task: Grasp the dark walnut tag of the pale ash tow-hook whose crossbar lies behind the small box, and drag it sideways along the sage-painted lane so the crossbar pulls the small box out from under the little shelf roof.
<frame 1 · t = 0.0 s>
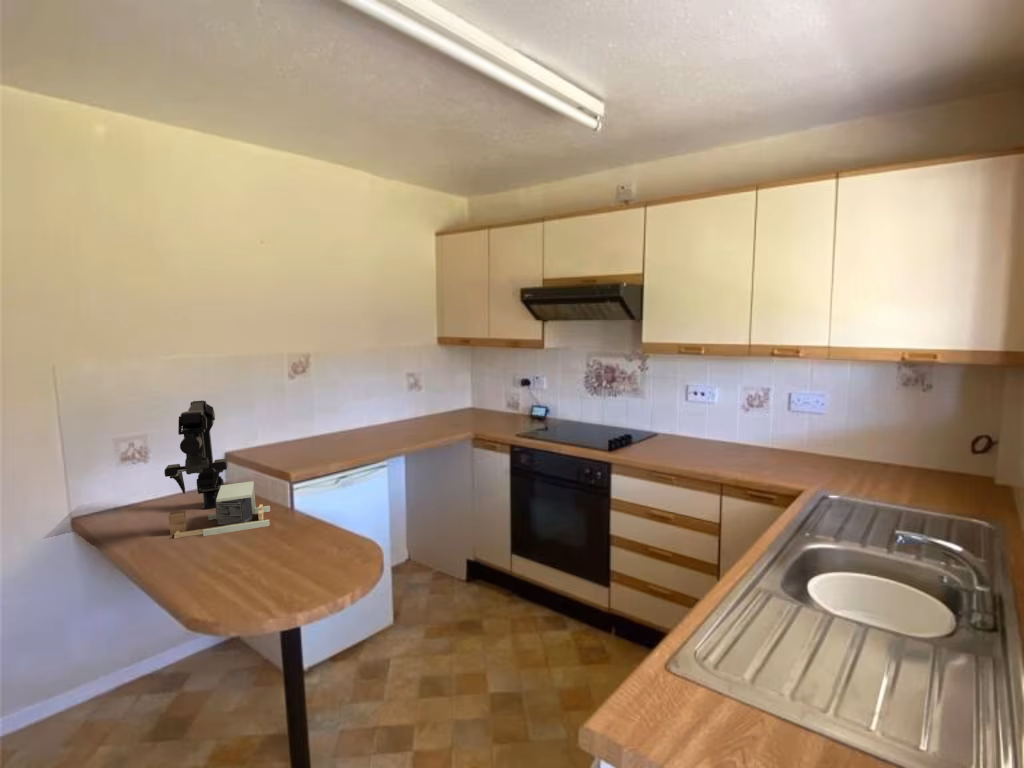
hand: (199, 491, 192), 15 cm above the table, fingers open, 9 cm apart
tow hook: (179, 531, 194), on the table
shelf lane: (214, 526, 198), on the table
small box: (235, 523, 201), on the table
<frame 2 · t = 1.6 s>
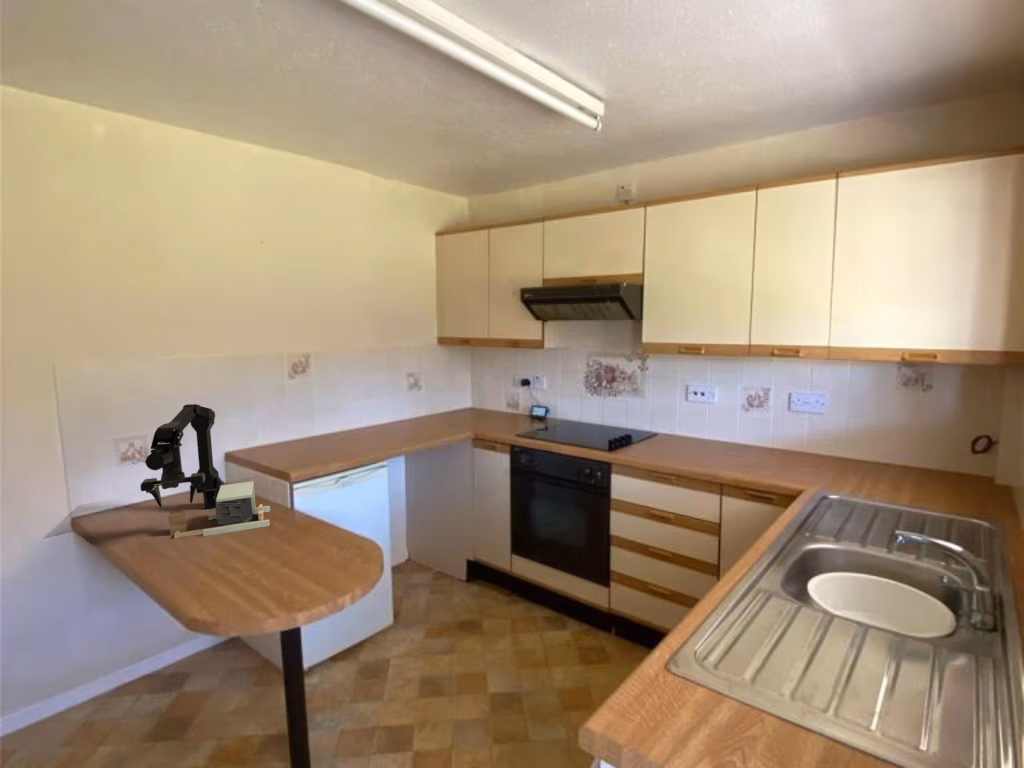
hand: (176, 505, 192), 10 cm above the table, fingers open, 9 cm apart
nothing on the table moved.
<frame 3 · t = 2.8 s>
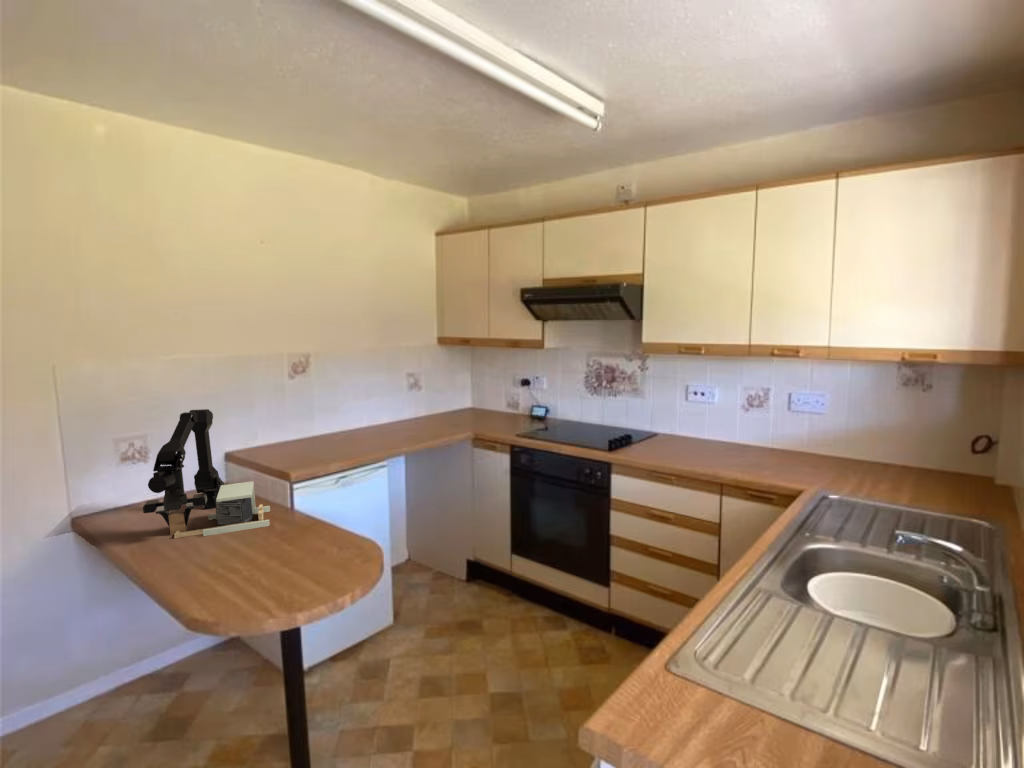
hand: (178, 526, 193), 2 cm above the table, fingers closed on tow hook, 4 cm apart
tow hook: (179, 531, 194), on the table, touching gripper
everything else where it was.
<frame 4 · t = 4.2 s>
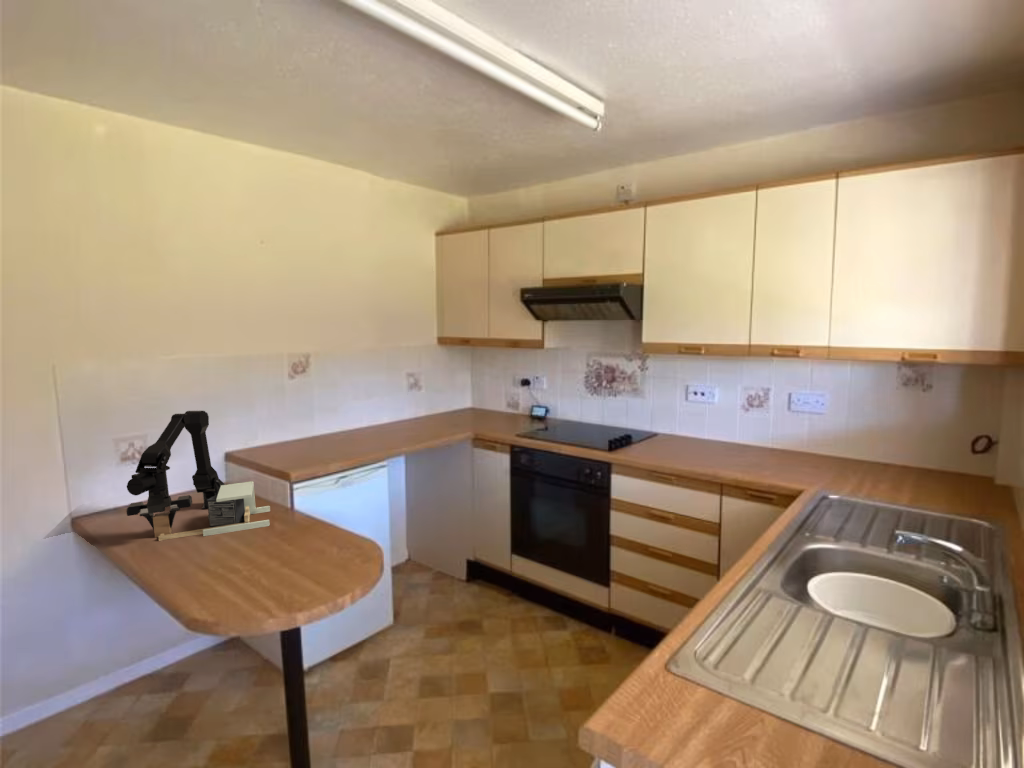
hand: (163, 528, 192), 2 cm above the table, fingers open, 4 cm apart
tow hook: (163, 534, 192), resting on small box, touching gripper
small box: (228, 524, 200), on the table, touching tow hook
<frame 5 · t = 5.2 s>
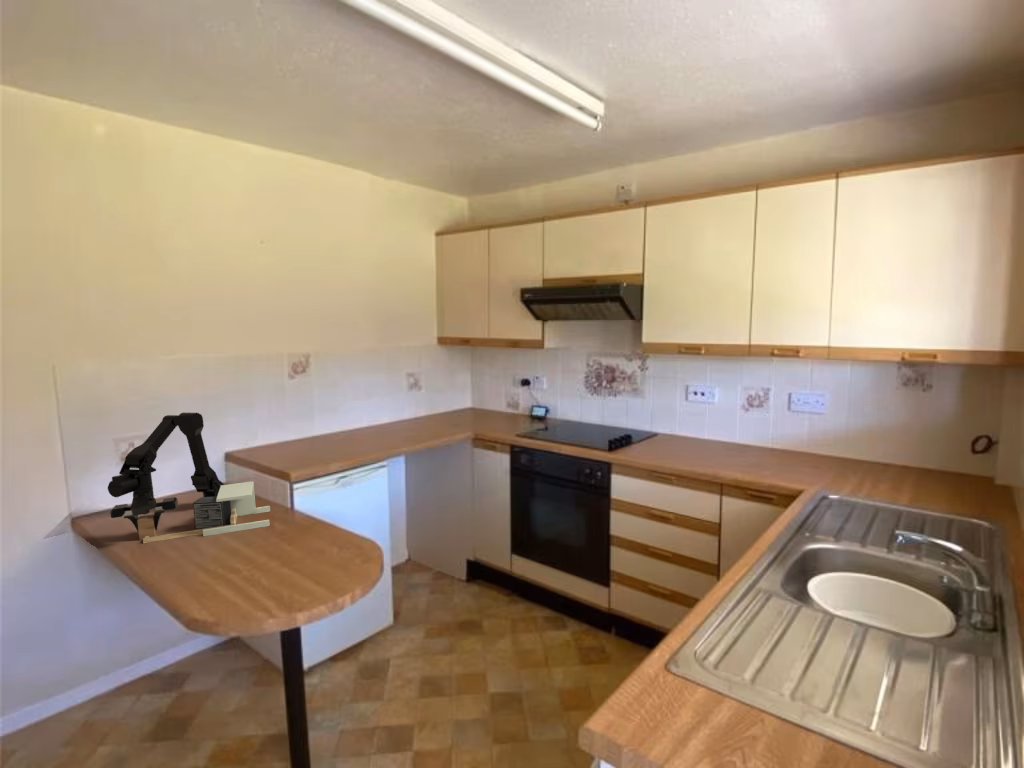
hand: (148, 530, 190), 2 cm above the table, fingers closed on tow hook, 4 cm apart
tow hook: (148, 536, 190), on the table, touching gripper, small box
small box: (214, 527, 198), on the table, touching tow hook
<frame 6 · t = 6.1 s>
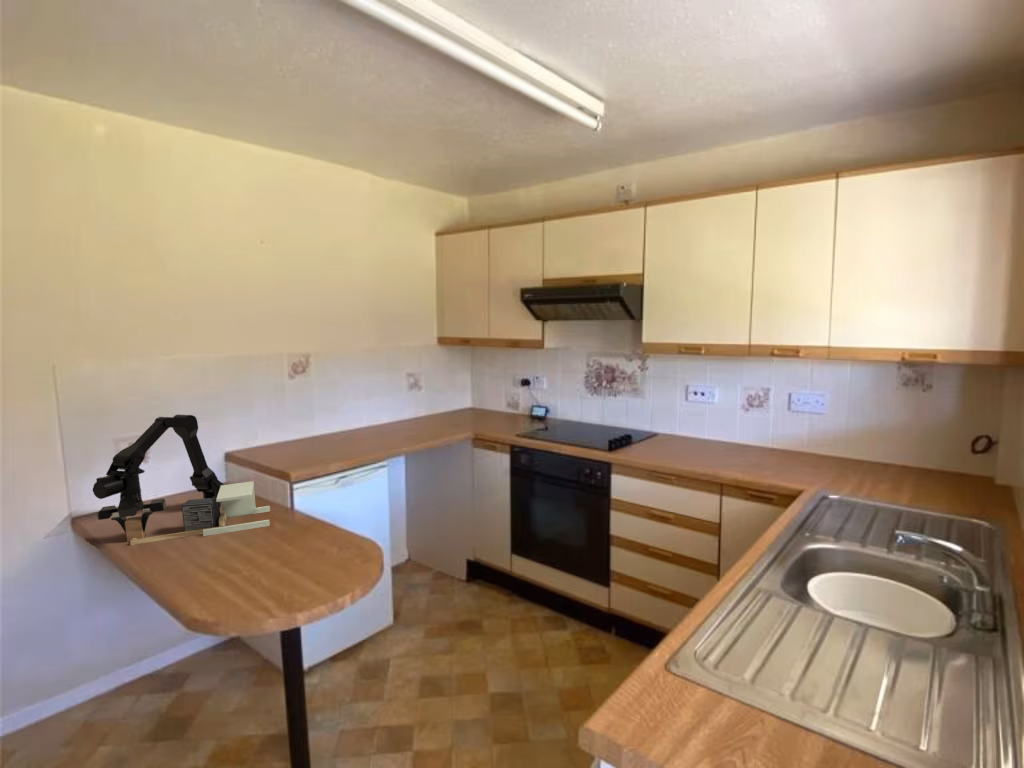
hand: (135, 532, 188), 2 cm above the table, fingers closed on tow hook, 4 cm apart
tow hook: (136, 538, 189), on the table, touching gripper, small box
small box: (203, 529, 196), on the table, touching tow hook
when the fingers open (2 cm above the table, at t = 6.2 s): tow hook stays where it is, on the table.
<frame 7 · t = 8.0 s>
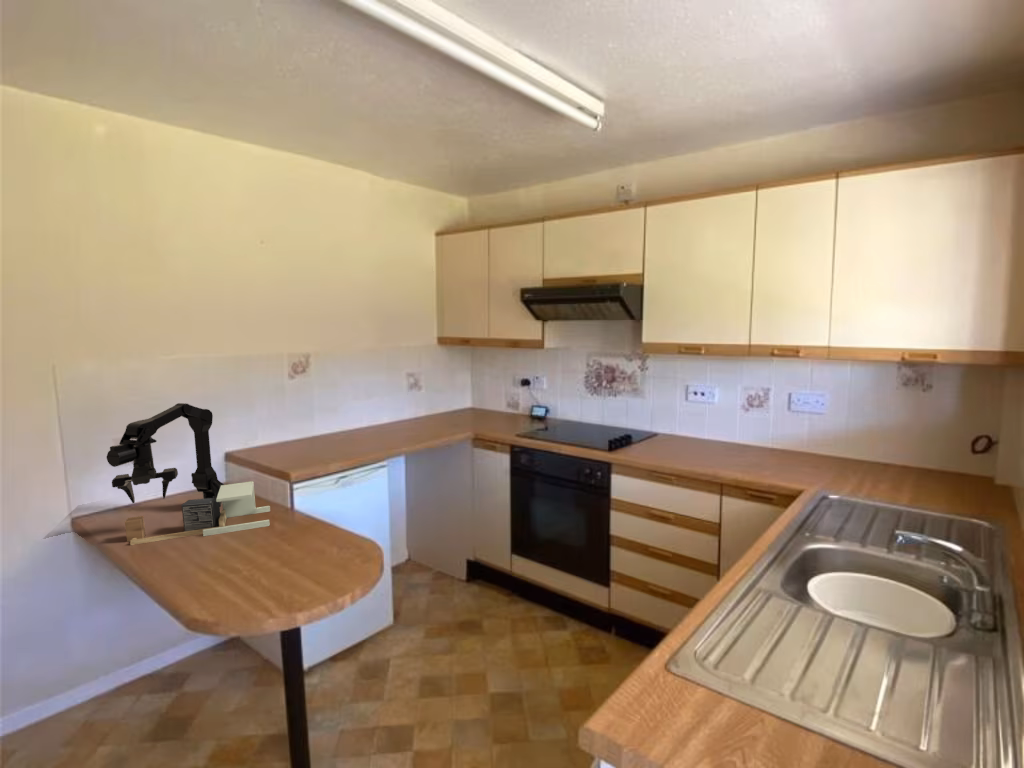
hand: (149, 500, 194), 11 cm above the table, fingers open, 9 cm apart
tow hook: (136, 538, 189), on the table
small box: (203, 529, 196), on the table
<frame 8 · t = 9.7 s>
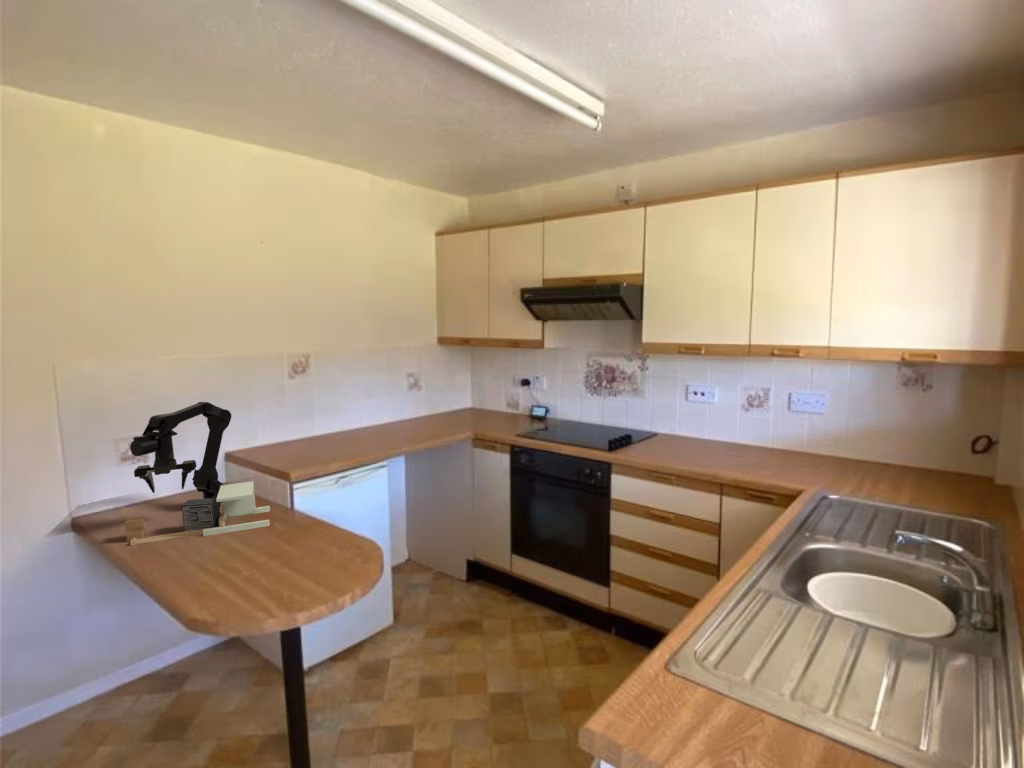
hand: (168, 490, 201), 12 cm above the table, fingers open, 9 cm apart
nothing on the table moved.
at the end: small box inside the target area (1.6 cm from its centre), on the table; small box moved 10.4 cm from its start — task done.
